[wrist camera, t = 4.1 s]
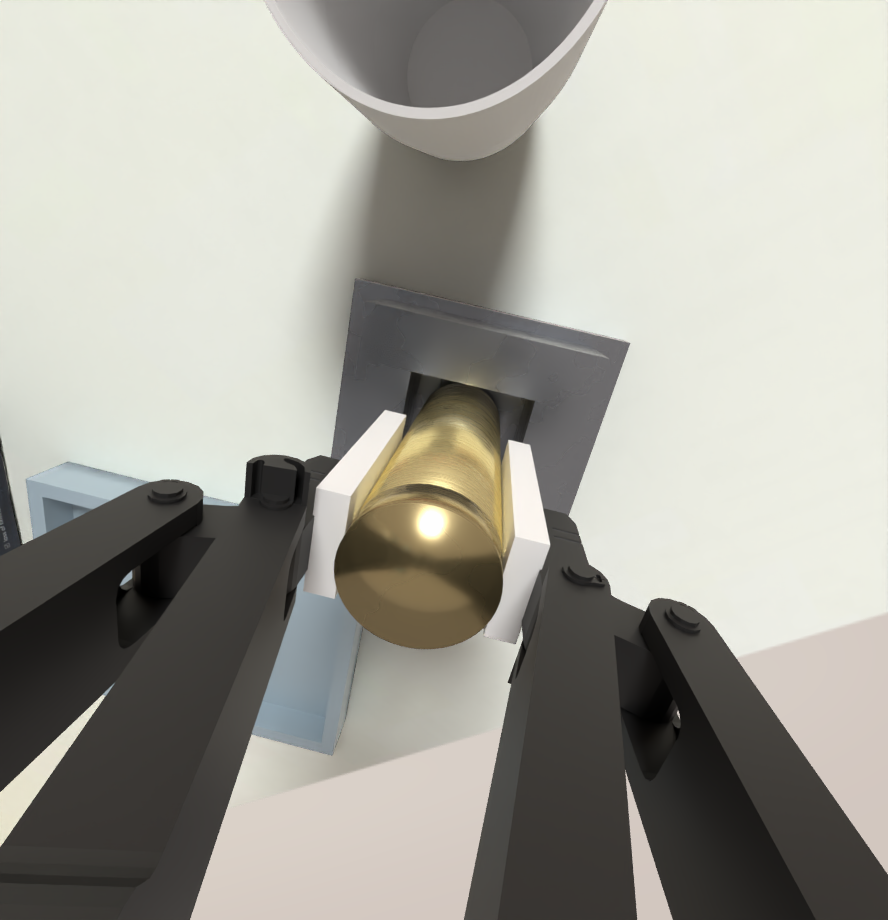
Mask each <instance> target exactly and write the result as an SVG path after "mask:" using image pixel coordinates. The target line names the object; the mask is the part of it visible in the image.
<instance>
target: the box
mask: <svg viewBox="0 0 888 920" xmlns="http://www.w3.org/2000/svg"><path fill="white" fill-rule="evenodd" d="M19 546H21V543H20V539H19V535H18V531H17V526H16V522H15V517H14V513H13V508H12V504H11V500H10V492H9V485H8V480H7V476H6V471H5V466H4V462H3V457H2V454H1V450H0V556H2V555H4V554H5V553H7V552H9V551H11V550H13V549H15V548H17V547H19Z"/></svg>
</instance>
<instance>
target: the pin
mask: <svg viewBox="0 0 888 920" xmlns="http://www.w3.org/2000/svg"><path fill="white" fill-rule="evenodd" d="M334 579H335V584H336V588H337V591H338V593H339V596H340V598H341V600H342V602H343V604H344V606H345V607H346V609H347V610H348V611H349V613H350V614H351V615H352V616H353V617H354V619H355V620H356V621H357V622H358V623H359V624H361V625H362V626H363V627H364V628H365V629H367V630H368V631H370V632H371V633H372V634H374V635H376V636H378V637H380V638H381V639H384V640H386V641H388V642H391V643H393V644H397V645H400V646H404V647H409V648H416V649H436V648H444V647H448V646H452V645H455V644H458V643H461V642H463V641H465V640H467V639H469V638H471V637H472V636H474V635H475V634H477V633H478V632H479V631H480V630H482V629H483V628H484V627H485V626H486V625H487V624H488V622H489V621H490V620H491V619H492V617H493V616H494V614H495V612H496V611H497V608H498V606H499V603H500V601H501V596H502V591H503V551H502V500H501V448H500V417H499V412H498V409H497V407H496V405H495V403H494V402H493V400H492V399H491V398H490V397H489V395H488V394H486V393H485V392H484V391H482V390H481V389H479V388H477V387H475V386H471V385H466V384H462V383H456V384H450V385H446V386H444V387H441V388H440V389H438V390H436V391H435V392H434V393H433V394H431V395H430V396H429V398H428V399H427V400H426V402H425V404H424V405H423V407H422V409H421V410H420V412H419V413H418V415H417V417H416V418H415V420H414V422H413V423H412V425H411V427H410V428H409V430H408V432H407V433H406V435H405V437H404V438H403V440H402V441H401V443H400V445H399V446H398V448H397V450H396V451H395V453H394V455H393V456H392V458H391V460H390V461H389V463H388V465H387V466H386V468H385V469H384V471H383V473H382V474H381V476H380V478H379V479H378V481H377V483H376V484H375V486H374V488H373V489H372V491H371V493H370V494H369V496H368V497H367V499H366V501H365V502H364V504H363V506H362V507H361V509H360V511H359V512H358V514H357V516H356V517H355V519H354V521H353V522H352V524H351V525H350V527H349V529H348V530H347V532H346V534H345V535H344V537H343V539H342V540H341V542H340V544H339V547H338V549H337V552H336V556H335V560H334Z"/></svg>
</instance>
